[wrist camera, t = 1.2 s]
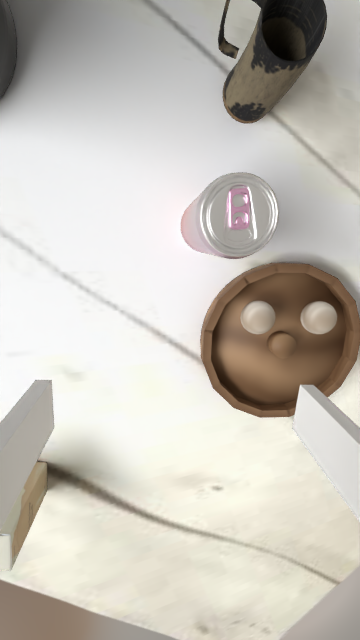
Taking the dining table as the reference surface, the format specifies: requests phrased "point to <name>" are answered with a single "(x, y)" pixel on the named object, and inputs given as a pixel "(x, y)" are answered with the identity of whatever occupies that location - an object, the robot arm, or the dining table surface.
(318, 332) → the bead
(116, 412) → the dining table surface
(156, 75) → the dining table surface
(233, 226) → the beverage can
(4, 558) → the box
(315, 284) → the tray
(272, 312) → the bead
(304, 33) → the mug
